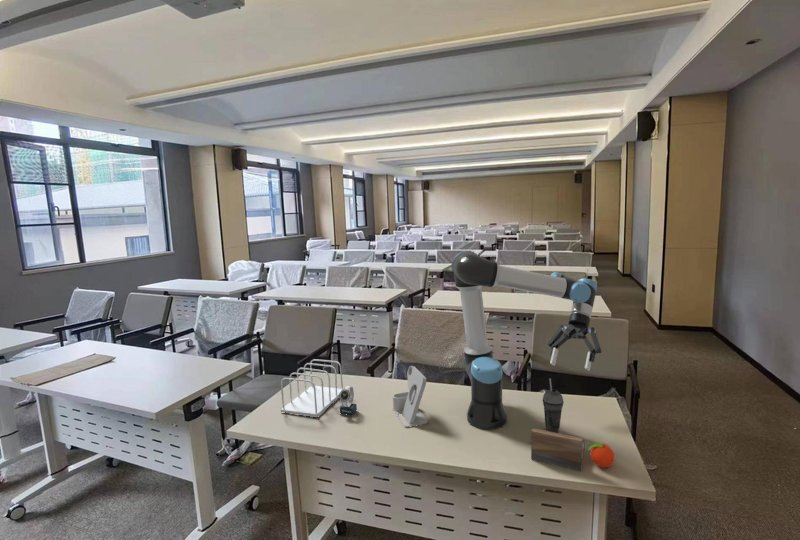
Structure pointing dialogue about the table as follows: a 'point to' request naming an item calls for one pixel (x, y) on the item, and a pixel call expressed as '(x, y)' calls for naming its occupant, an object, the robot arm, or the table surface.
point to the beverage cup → (552, 409)
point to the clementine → (602, 455)
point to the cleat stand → (557, 449)
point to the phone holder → (411, 399)
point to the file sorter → (312, 393)
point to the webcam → (347, 401)
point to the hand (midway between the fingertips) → (569, 367)
